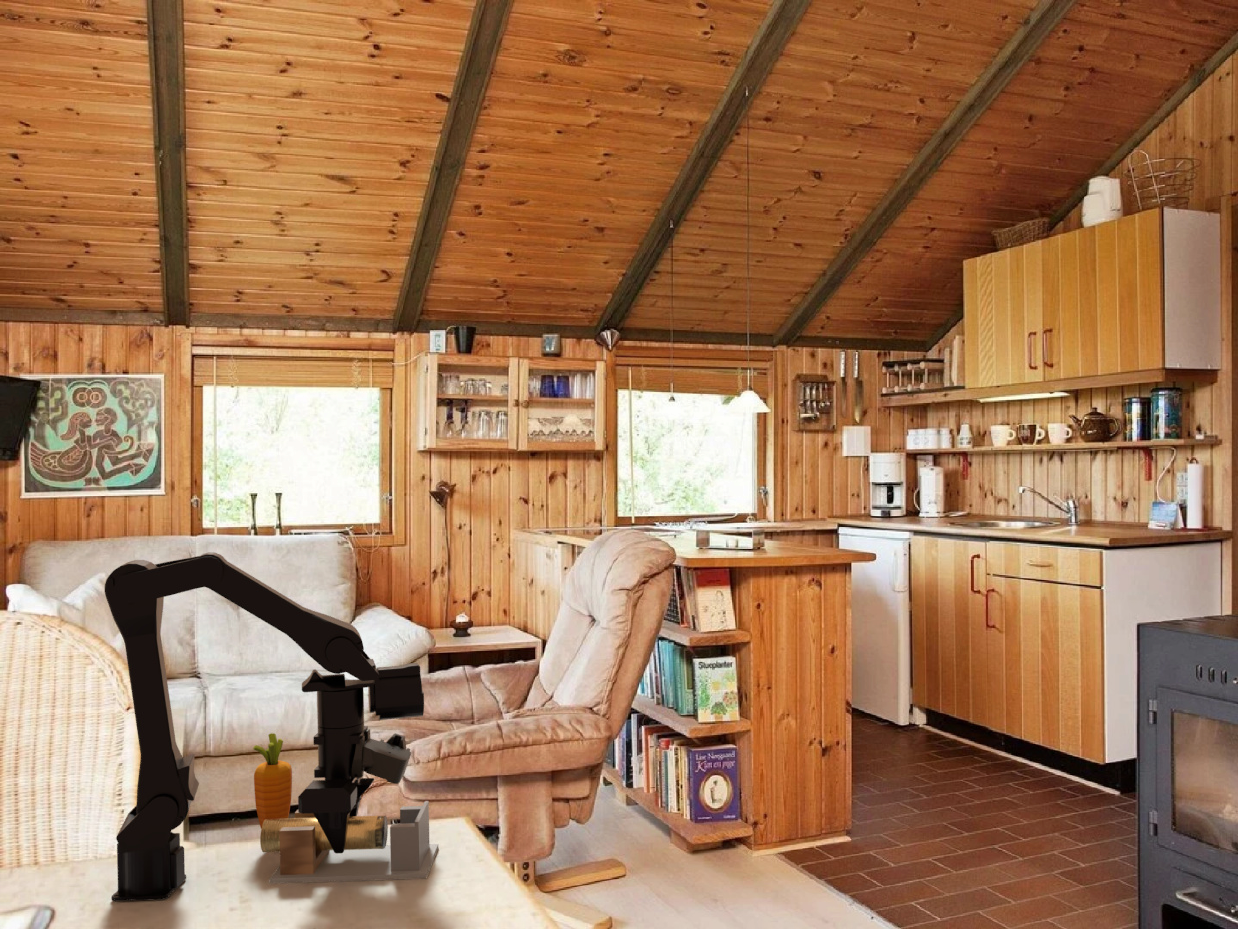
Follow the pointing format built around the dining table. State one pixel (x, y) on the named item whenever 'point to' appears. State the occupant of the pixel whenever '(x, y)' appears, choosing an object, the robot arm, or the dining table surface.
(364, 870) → the board
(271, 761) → the carrot
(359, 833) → the tube
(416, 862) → the socket
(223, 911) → the dining table surface
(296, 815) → the wooden u-shaped cradle
